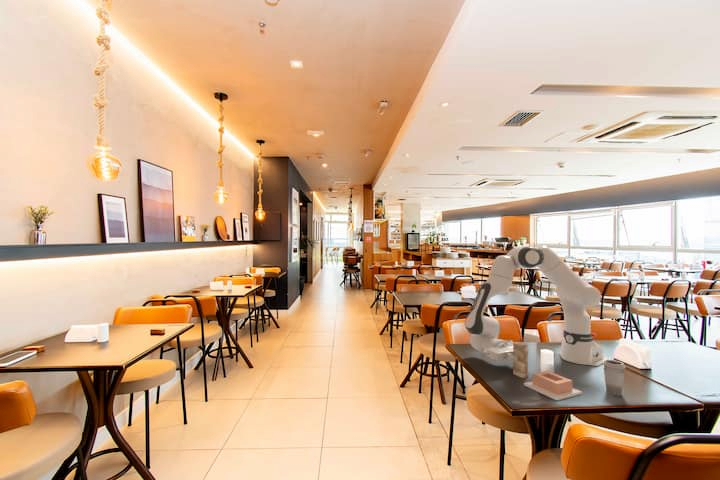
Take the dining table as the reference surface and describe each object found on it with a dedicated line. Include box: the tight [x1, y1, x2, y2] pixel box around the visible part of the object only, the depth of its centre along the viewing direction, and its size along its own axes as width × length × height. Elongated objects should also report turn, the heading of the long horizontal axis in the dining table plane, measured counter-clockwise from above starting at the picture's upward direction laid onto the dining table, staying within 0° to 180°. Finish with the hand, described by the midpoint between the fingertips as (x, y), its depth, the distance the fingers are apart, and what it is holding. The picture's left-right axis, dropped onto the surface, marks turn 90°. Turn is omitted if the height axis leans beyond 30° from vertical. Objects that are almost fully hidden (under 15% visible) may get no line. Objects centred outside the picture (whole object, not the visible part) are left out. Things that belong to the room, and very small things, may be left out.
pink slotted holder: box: [523, 370, 583, 401], centre depth 128 cm, size 14×14×5 cm
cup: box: [601, 359, 626, 397], centre depth 125 cm, size 7×7×12 cm
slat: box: [512, 341, 529, 379], centre depth 142 cm, size 3×5×14 cm, turn 22°
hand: (522, 357), depth 141 cm, fingers closed on slat, 3 cm apart
